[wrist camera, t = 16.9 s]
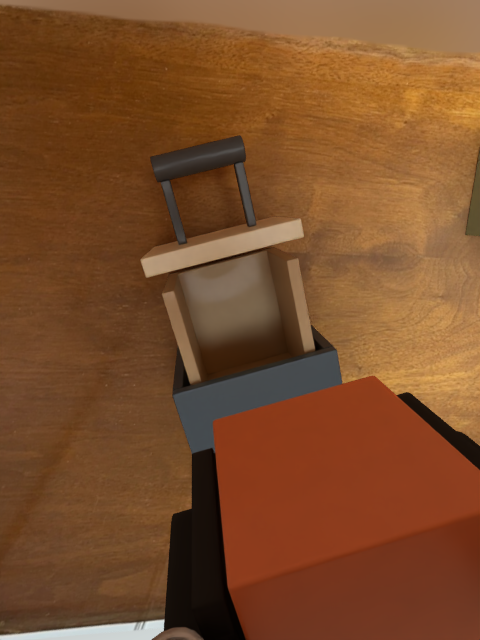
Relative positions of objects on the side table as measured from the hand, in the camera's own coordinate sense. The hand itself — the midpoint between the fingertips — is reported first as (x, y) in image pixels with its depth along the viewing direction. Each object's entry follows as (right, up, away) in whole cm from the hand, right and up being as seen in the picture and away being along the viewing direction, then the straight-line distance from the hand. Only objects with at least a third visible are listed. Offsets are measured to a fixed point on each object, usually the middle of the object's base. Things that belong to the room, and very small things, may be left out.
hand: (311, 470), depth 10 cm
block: (0, 0, 0) cm, 0 cm away
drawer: (-3, +8, +21) cm, 23 cm away
